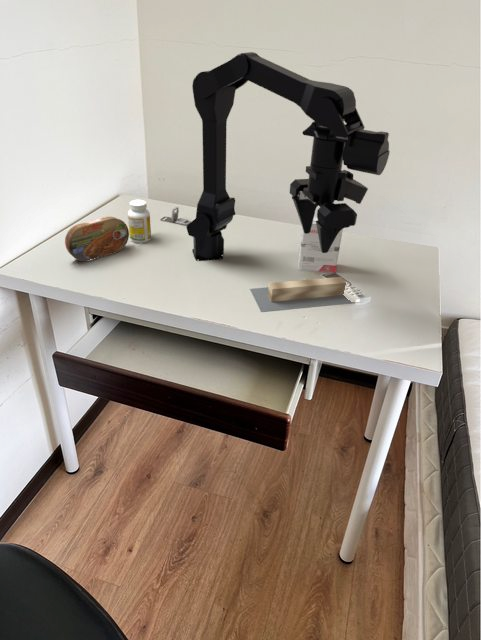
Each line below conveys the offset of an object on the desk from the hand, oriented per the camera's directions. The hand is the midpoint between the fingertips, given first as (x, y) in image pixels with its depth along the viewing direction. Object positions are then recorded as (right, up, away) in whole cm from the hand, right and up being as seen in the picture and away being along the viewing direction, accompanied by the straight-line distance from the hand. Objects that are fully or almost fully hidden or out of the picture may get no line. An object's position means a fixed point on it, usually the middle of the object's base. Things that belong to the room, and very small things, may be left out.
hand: (315, 242), depth 93 cm
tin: (-48, 0, +17) cm, 51 cm away
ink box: (+3, -4, +16) cm, 16 cm away
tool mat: (-1, -11, +4) cm, 12 cm away
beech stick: (-1, -10, +4) cm, 11 cm away
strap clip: (-33, +11, +35) cm, 49 cm away
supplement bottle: (-40, +5, +25) cm, 47 cm away
